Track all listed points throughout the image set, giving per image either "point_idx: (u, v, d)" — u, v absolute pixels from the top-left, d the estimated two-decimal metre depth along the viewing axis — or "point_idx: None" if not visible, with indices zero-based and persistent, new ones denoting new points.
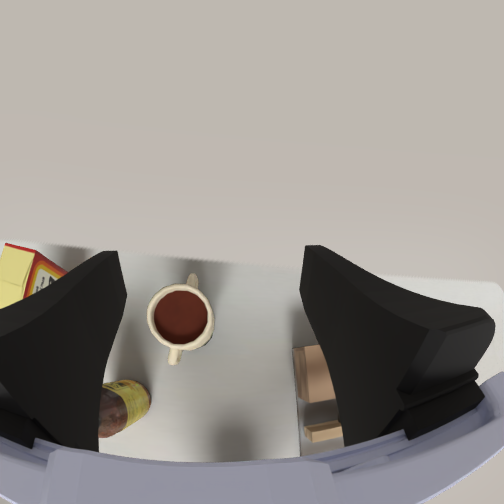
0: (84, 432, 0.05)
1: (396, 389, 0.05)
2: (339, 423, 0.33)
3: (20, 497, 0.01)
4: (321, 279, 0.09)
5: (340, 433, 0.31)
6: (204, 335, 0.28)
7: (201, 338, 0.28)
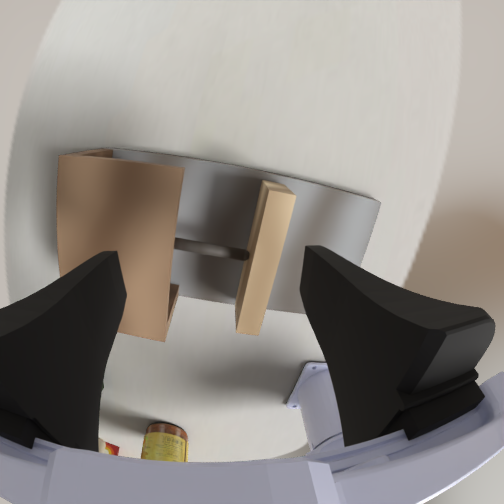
0: (84, 432, 0.05)
1: (396, 389, 0.05)
2: (248, 263, 0.19)
3: (20, 497, 0.01)
4: (322, 279, 0.09)
5: (264, 285, 0.18)
6: None
7: None
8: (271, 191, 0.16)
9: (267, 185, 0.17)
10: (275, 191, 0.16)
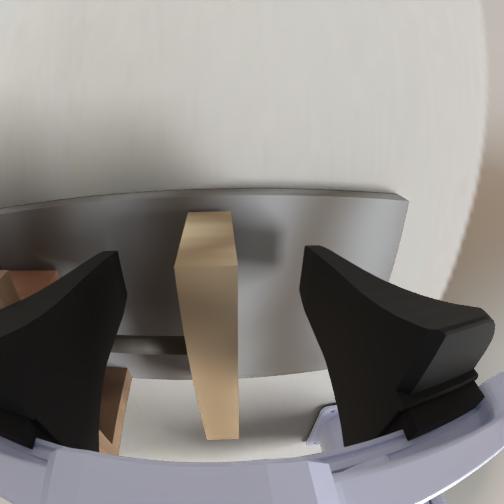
0: (85, 432, 0.05)
1: (395, 389, 0.05)
2: None
3: (20, 497, 0.01)
4: (321, 279, 0.09)
5: (225, 399, 0.10)
6: None
7: None
8: (179, 269, 0.07)
9: (183, 239, 0.08)
10: (189, 266, 0.07)
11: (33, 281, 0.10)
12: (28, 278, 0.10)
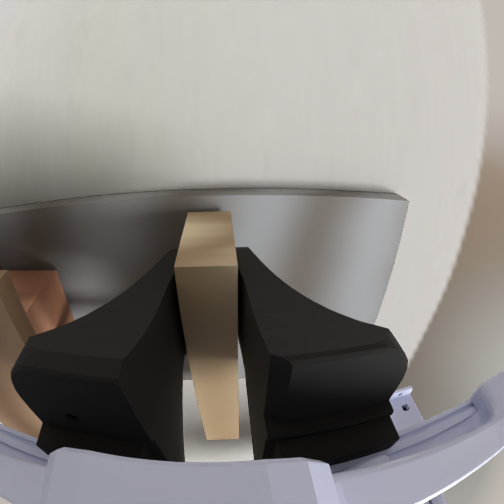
0: (178, 443, 0.06)
1: (264, 415, 0.04)
2: None
3: (20, 497, 0.01)
4: None
5: (225, 399, 0.10)
6: None
7: None
8: (179, 269, 0.07)
9: (183, 239, 0.08)
10: (189, 266, 0.07)
11: (33, 281, 0.10)
12: (28, 278, 0.10)
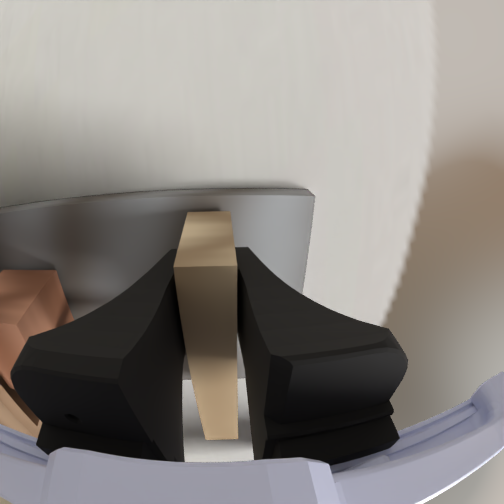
0: (178, 443, 0.06)
1: (264, 414, 0.04)
2: None
3: (20, 497, 0.01)
4: (237, 283, 0.09)
5: (224, 399, 0.10)
6: None
7: None
8: (179, 268, 0.07)
9: (183, 239, 0.08)
10: (188, 265, 0.07)
11: (32, 280, 0.10)
12: (27, 277, 0.10)
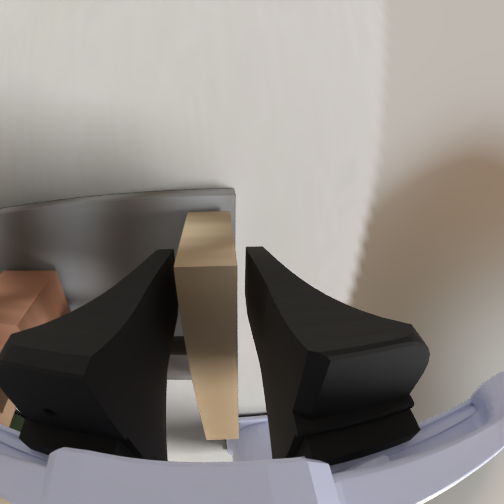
0: (159, 442, 0.06)
1: (293, 411, 0.04)
2: None
3: (20, 497, 0.01)
4: (253, 282, 0.09)
5: (224, 399, 0.10)
6: None
7: None
8: (179, 269, 0.07)
9: (183, 239, 0.08)
10: (188, 266, 0.07)
11: (32, 281, 0.10)
12: (28, 278, 0.10)
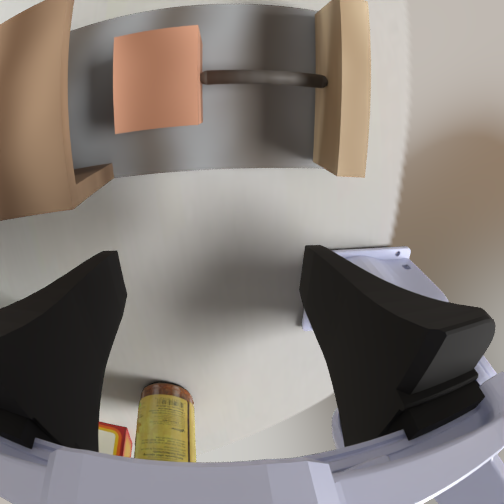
0: (84, 432, 0.05)
1: (396, 389, 0.05)
2: (329, 88, 0.13)
3: (20, 497, 0.01)
4: (322, 279, 0.09)
5: (361, 100, 0.12)
6: None
7: None
8: None
9: (329, 3, 0.10)
10: None
11: None
12: None
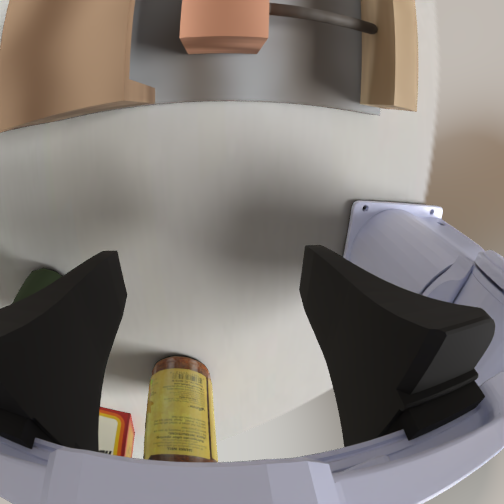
0: (84, 432, 0.05)
1: (396, 389, 0.05)
2: (379, 33, 0.11)
3: (20, 497, 0.01)
4: (322, 279, 0.09)
5: (411, 43, 0.10)
6: None
7: None
8: None
9: None
10: None
11: None
12: None
